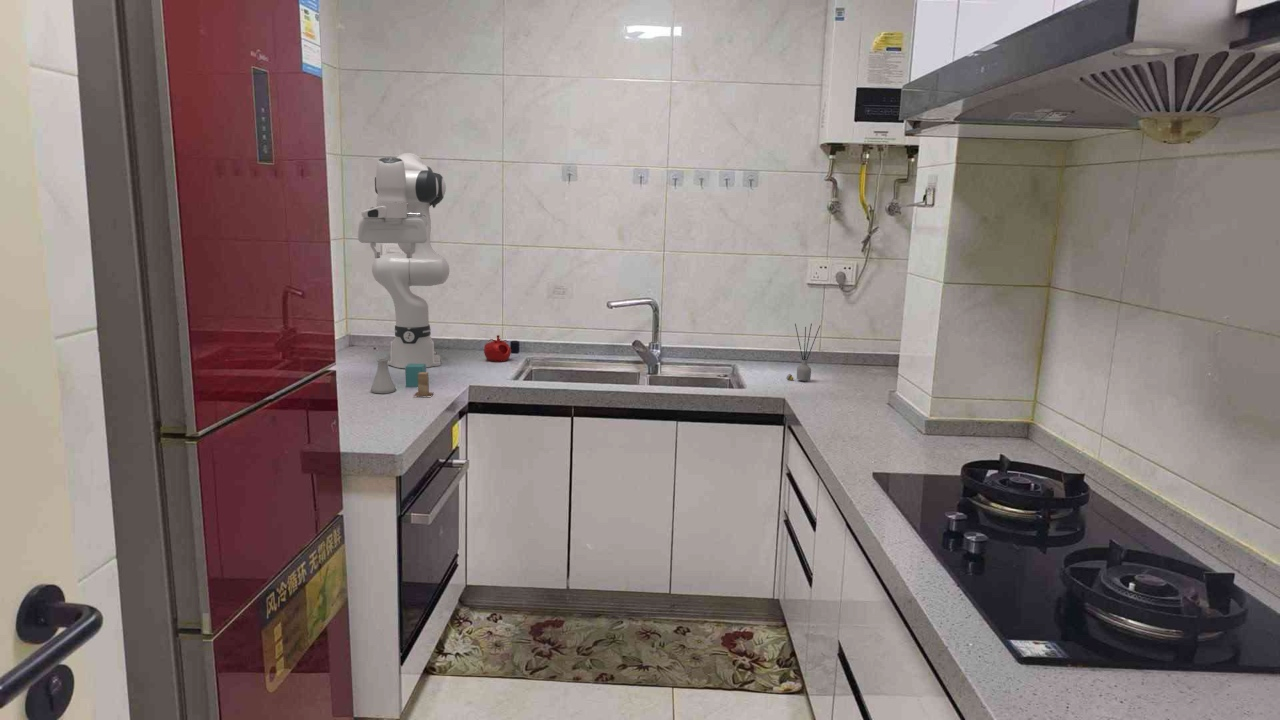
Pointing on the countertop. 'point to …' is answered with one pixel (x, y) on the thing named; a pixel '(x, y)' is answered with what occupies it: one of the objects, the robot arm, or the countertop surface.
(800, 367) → the reed diffuser
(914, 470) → the countertop surface
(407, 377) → the teal upright block
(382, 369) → the flask
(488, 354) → the hollow red tomato
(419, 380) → the post
